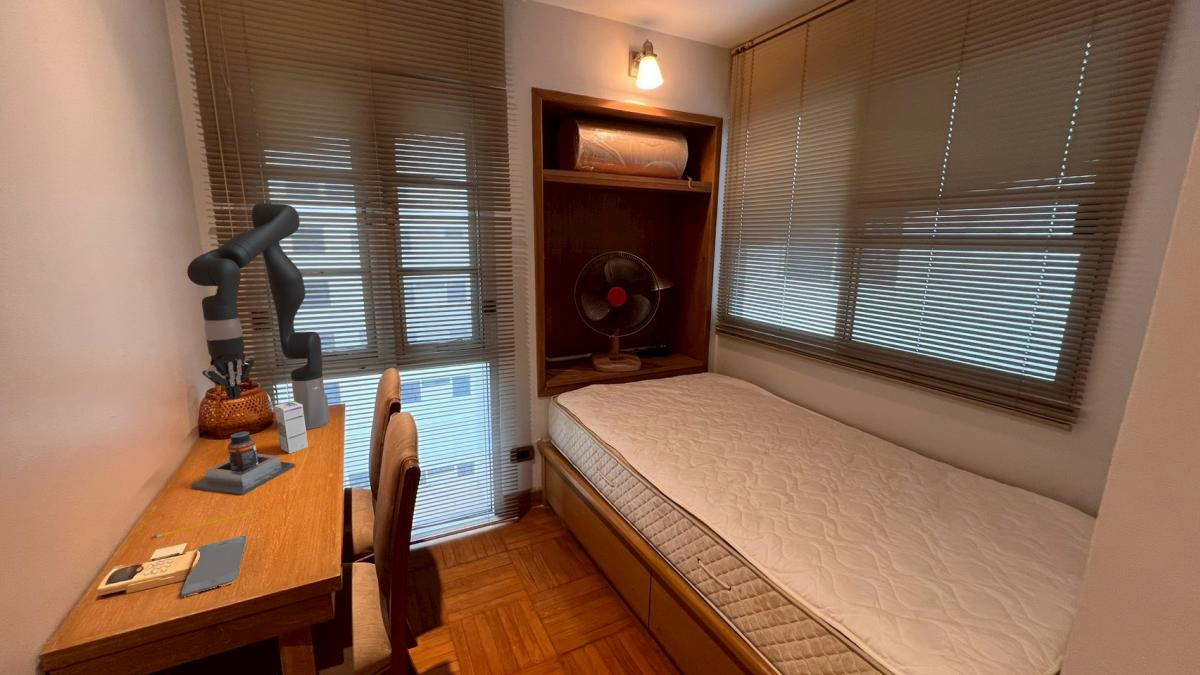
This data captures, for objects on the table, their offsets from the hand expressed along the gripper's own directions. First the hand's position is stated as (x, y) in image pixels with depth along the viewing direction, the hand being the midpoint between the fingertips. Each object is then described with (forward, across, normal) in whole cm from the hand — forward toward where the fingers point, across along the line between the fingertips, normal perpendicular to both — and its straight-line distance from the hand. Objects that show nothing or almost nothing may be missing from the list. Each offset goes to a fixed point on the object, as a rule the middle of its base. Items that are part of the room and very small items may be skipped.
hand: (234, 398), depth 126 cm
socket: (+22, +2, +2) cm, 22 cm away
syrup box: (+22, -16, +1) cm, 27 cm away
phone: (+22, +34, +30) cm, 50 cm away
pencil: (+22, +22, +14) cm, 34 cm away
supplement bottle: (+21, +2, +2) cm, 21 cm away
